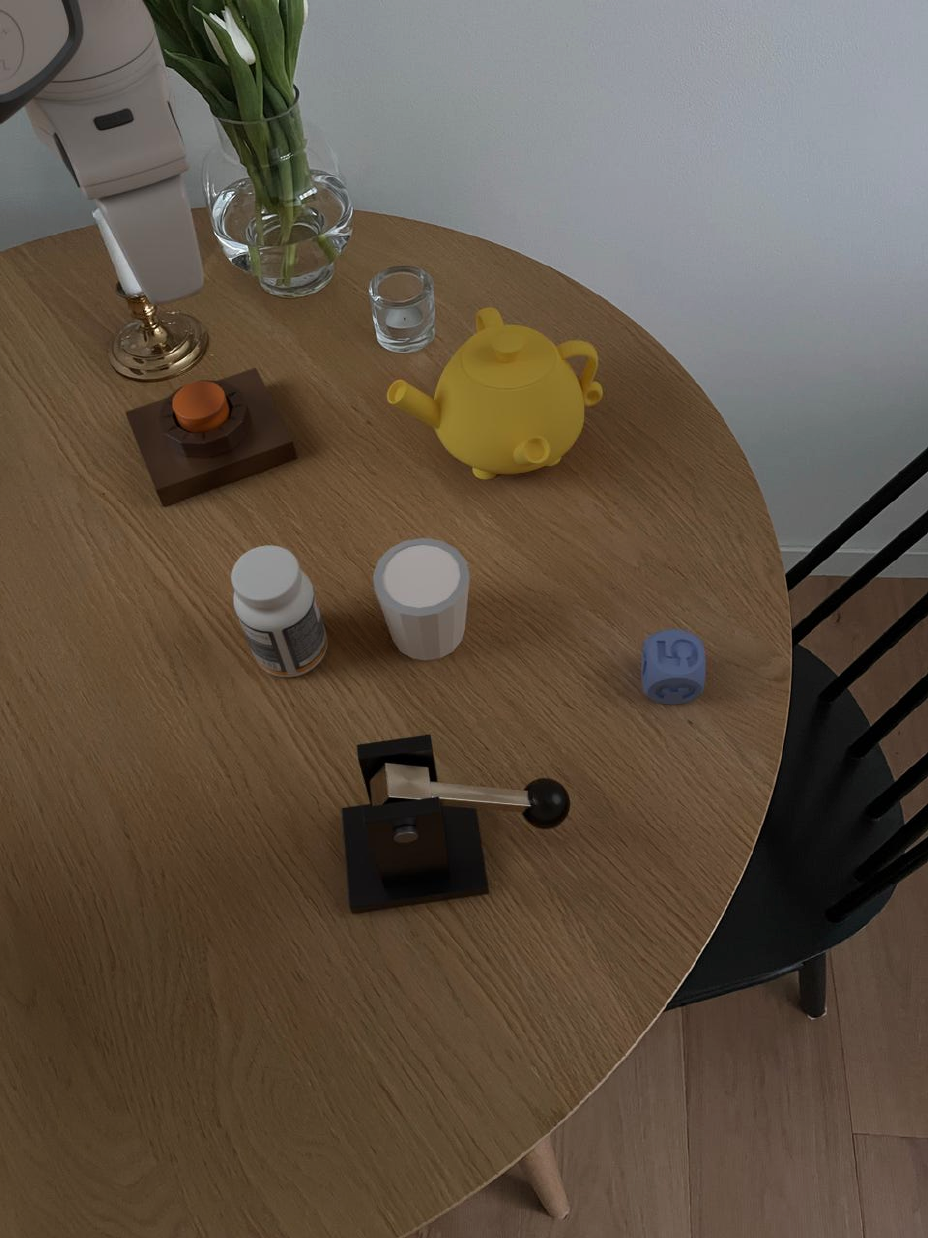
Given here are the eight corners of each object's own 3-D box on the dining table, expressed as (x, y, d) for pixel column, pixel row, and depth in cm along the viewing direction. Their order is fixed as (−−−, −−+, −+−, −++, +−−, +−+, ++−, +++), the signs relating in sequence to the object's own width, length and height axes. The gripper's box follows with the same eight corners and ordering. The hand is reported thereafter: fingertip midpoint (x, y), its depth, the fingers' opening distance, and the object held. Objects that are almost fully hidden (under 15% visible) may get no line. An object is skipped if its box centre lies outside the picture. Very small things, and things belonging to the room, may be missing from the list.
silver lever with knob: (548, 793, 70) (574, 771, 67) (558, 839, 68) (584, 818, 66) (366, 776, 64) (387, 751, 62) (370, 825, 62) (392, 802, 60)
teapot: (391, 465, 90) (377, 366, 81) (474, 367, 96) (469, 264, 87) (539, 531, 85) (542, 435, 76) (616, 423, 92) (627, 322, 82)
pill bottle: (318, 608, 82) (296, 528, 74) (337, 668, 79) (316, 591, 71) (246, 629, 81) (216, 550, 73) (262, 690, 78) (232, 615, 70)
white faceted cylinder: (386, 592, 83) (376, 536, 77) (474, 592, 82) (470, 536, 77) (379, 667, 79) (368, 615, 73) (471, 668, 79) (468, 615, 73)
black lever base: (473, 796, 73) (467, 713, 63) (489, 894, 69) (484, 822, 59) (343, 814, 73) (316, 734, 63) (351, 914, 69) (323, 845, 59)
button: (186, 440, 88) (180, 425, 86) (171, 406, 90) (165, 391, 89) (236, 422, 89) (231, 407, 87) (220, 389, 91) (215, 374, 90)
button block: (163, 507, 89) (149, 475, 85) (132, 429, 94) (118, 396, 90) (297, 458, 91) (289, 425, 88) (260, 385, 96) (251, 351, 93)
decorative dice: (640, 657, 78) (645, 628, 75) (694, 658, 78) (702, 628, 75) (643, 705, 76) (649, 676, 73) (699, 705, 76) (707, 677, 73)
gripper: (12, 23, 69) (85, 208, 81) (83, 193, 59) (155, 377, 70) (106, -1, 71) (164, 184, 82) (192, 160, 60) (246, 347, 71)
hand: (161, 275), depth 76 cm, fingers closed
